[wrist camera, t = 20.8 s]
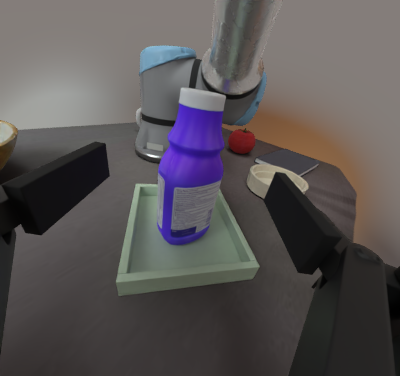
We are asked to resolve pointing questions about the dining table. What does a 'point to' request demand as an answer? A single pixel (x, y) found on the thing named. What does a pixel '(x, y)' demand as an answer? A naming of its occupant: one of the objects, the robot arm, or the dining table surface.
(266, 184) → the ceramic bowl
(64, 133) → the dining table surface
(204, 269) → the tray
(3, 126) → the bowl
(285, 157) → the notebook
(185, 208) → the bottle
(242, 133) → the tomato
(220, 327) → the dining table surface
